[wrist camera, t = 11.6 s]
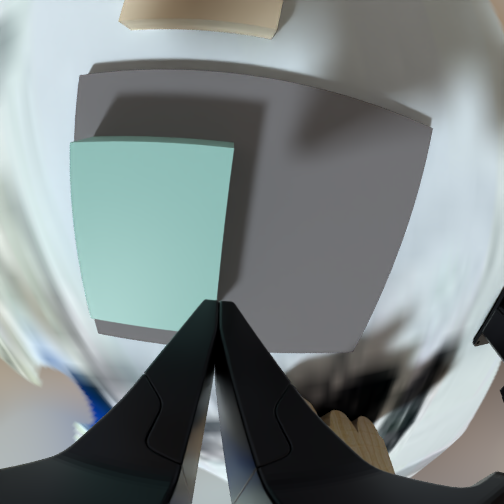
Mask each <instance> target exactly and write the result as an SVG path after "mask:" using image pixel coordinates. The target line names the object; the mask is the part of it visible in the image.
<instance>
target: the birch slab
mask: <svg viewBox="0 0 504 504" xmlns="http://www.w3.org/2000/svg"><path fill="white" fill-rule="evenodd" d="M282 4H283V0H125V1H124V4H123V7H122V11H121V14H120V18H119V22H120V23H122V24H123V25H124V26H126V27H127V28H129V29H130V30H146V29H187V30H205V31H217V32H227V33H235V34H242V35H249V36H255V37H261V38H266V39H272V38H273V36H274V34H275V32H276V31H277V28H278V23H279V18H280V13H281V9H282Z"/></svg>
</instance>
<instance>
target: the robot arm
mask: <svg viewBox="0 0 504 504" xmlns="http://www.w3.org/2000/svg"><path fill="white" fill-rule="evenodd" d="M488 343H490V345H491V346H492V347H493V349H494V350H495V351H496V353H497V354H498V355H499V357H500V358H501V359H502V361H503V362H504V290H503V291H502V293H501V295H500V297H499V299H498V301H497V303H496V304H495V306H494V308H493V310H492V311H491V313H490V315H489V317H488V318H487V320H486V322H485V323H484V325H483V327H482V328H481V330H480V331H479V333H478V334H477V336H476V338H475V339H474V341H473V345H474V346H480V345H484V344H488ZM214 367H215V386H216V395H217V404H218V412H219V421H220V429H221V436H222V444H223V451H224V458H225V465H226V472H227V478H228V484H229V490H230V496H231V502H232V504H504V473H502V472H494V473H492V474H490V475H489V476H487V477H486V478H484V479H483V480H481V481H479V482H477V483H476V484H474V485H473V486H471V487H465V488H457V487H449V486H443V485H437V484H433V483H428V482H423V481H419V480H415V479H411V478H407V477H403V476H399V475H396V474H392V473H389V472H386V471H383V470H380V469H378V468H376V467H374V466H372V465H371V464H369V463H368V462H366V461H365V460H364V459H362V458H361V457H360V456H359V455H358V454H357V453H356V452H355V451H353V450H352V449H351V448H350V447H349V446H348V445H347V444H346V443H345V442H344V441H343V440H342V439H341V438H340V437H339V436H338V435H337V434H336V433H335V432H334V431H332V430H331V429H330V428H329V427H328V426H327V425H326V424H325V423H324V422H323V420H322V419H321V418H320V417H319V416H318V415H317V414H316V413H315V412H314V411H313V410H312V409H311V407H310V406H309V405H308V404H307V403H306V401H305V400H304V399H303V398H302V396H301V395H300V394H299V393H298V391H297V390H296V388H295V387H294V386H293V385H292V384H291V382H290V381H289V379H288V378H287V376H286V375H285V374H284V372H283V371H282V370H281V368H280V367H279V366H278V364H277V363H276V361H275V360H274V359H273V357H272V356H271V354H270V353H269V352H268V350H267V349H266V347H265V346H264V345H263V343H262V342H261V340H260V339H259V338H258V336H257V335H256V333H255V332H254V330H253V329H252V328H251V326H250V325H249V323H248V322H247V320H246V319H245V317H244V316H243V315H242V313H241V312H240V310H239V309H238V307H237V306H236V304H235V303H234V302H232V301H220V302H218V301H217V300H209V299H205V300H203V301H202V303H201V304H200V305H199V306H198V307H197V309H196V310H195V311H194V312H193V313H192V315H191V316H190V317H189V318H188V320H187V321H186V322H185V323H184V324H183V326H182V327H181V328H180V329H179V331H178V332H177V333H176V334H175V335H174V337H173V338H172V339H171V340H170V342H169V343H168V344H167V345H166V346H165V348H164V349H163V350H162V351H161V353H160V354H159V355H158V356H157V358H156V359H155V360H154V361H153V362H152V364H151V365H150V366H149V367H148V369H147V370H146V371H145V372H144V374H143V375H142V376H141V377H140V378H139V379H138V381H137V382H136V383H135V384H134V386H133V387H132V388H131V389H130V390H129V391H128V392H127V394H126V395H125V396H124V397H123V398H122V399H121V400H120V401H119V402H118V403H117V404H116V405H115V406H114V407H113V408H112V409H111V410H110V411H109V412H108V413H107V414H106V415H105V416H104V417H102V418H101V419H100V420H99V421H98V422H97V423H96V424H95V425H94V426H93V427H92V428H90V429H89V430H88V431H87V432H86V433H85V434H84V435H83V436H82V437H81V438H79V439H78V440H77V441H76V442H75V443H74V444H73V445H72V446H70V447H69V448H67V449H66V450H64V451H63V452H61V453H59V454H57V455H55V456H52V457H49V458H46V459H42V460H38V461H35V462H31V463H26V464H22V465H18V466H13V467H8V468H3V469H0V504H192V498H193V493H194V486H195V480H196V474H197V468H198V462H199V456H200V451H201V445H202V439H203V433H204V427H205V422H206V416H207V411H208V405H209V399H210V394H211V388H212V383H213V376H214ZM290 384H291V385H290ZM500 392H501V395H502V399H503V402H504V386H503V387H502V388H501V390H500Z"/></svg>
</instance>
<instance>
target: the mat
mask: <svg viewBox="0 0 504 504" xmlns="http://www.w3.org/2000/svg"><path fill="white" fill-rule="evenodd" d="M432 130H433V128H431V127H428V126H426V125H424V124H422V123H420V122H417V121H415V120H413V119H410V118H408V117H405V116H403V115H400V114H398V113H395V112H393V111H390V110H387V109H385V108H382V107H379V106H376V105H373V104H370V103H367V102H364V101H361V100H358V99H355V98H352V97H348V96H345V95H341V94H338V93H334V92H331V91H327V90H323V89H319V88H315V87H311V86H306V85H302V84H297V83H292V82H287V81H282V80H277V79H271V78H265V77H259V76H252V75H244V74H236V73H227V72H216V71H202V70H178V69H149V70H126V71H113V72H102V73H93V74H86V75H80V77H79V84H78V93H77V103H76V115H75V134H74V141H78V140H82V139H86V138H89V137H93V136H152V137H175V138H191V139H203V140H214V141H224V142H233V143H234V153H233V160H232V168H231V175H230V183H229V191H228V199H227V207H226V216H225V224H224V233H223V242H222V252H221V261H220V271H219V281H218V291H217V301H218V302H220V301H232V302H234V303H235V304H236V306H237V307H238V309H239V310H240V312H241V313H242V315H243V316H244V317H245V319H246V320H247V322H248V323H249V325H250V326H251V328H252V329H253V330H254V332H255V333H256V335H257V336H258V338H259V339H260V340H261V342H262V343H263V345H264V346H265V347H266V349H267V350H268V352H269V353H338V352H353V351H354V349H355V347H356V345H357V344H358V342H359V340H360V338H361V336H362V334H363V332H364V330H365V328H366V326H367V324H368V322H369V319H370V317H371V315H372V313H373V311H374V309H375V307H376V304H377V302H378V300H379V298H380V295H381V293H382V291H383V289H384V286H385V284H386V281H387V279H388V277H389V274H390V272H391V269H392V267H393V264H394V262H395V259H396V256H397V254H398V251H399V248H400V246H401V243H402V240H403V237H404V234H405V231H406V228H407V225H408V222H409V219H410V216H411V213H412V210H413V207H414V203H415V200H416V196H417V193H418V189H419V186H420V182H421V178H422V175H423V171H424V167H425V162H426V158H427V154H428V149H429V145H430V140H431V135H432ZM95 323H96V327H97V331H98V333H99V334H104V335H109V336H114V337H120V338H126V339H132V340H138V341H145V342H152V343H159V344H168V343H169V342H170V340H171V339H172V338H173V337H174V335H175V334H176V333H177V332H178V331H172V330H164V329H156V328H148V327H141V326H135V325H128V324H122V323H116V322H110V321H104V320H99V319H95Z"/></svg>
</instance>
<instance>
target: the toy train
mask: <svg viewBox="0 0 504 504" xmlns="http://www.w3.org/2000/svg"><path fill="white" fill-rule="evenodd" d="M302 398H303V397H302ZM303 399H304V398H303ZM304 400H305V401H306V403H307V404H308V405H309V406H310V407H311V409H312V410H313V411H314V412H315V413H316V414H317V412H316V411H315V409H314V408H313V406H312V404H311V403H310V402H308V401H307V400H306V399H304ZM320 418H321V419H322V420H323V422H324V423H325V424H326V425H327V426H328V427H329V428H330V429H331V430H332V431H334V432H335V433H336V434H337V435H338V436H339V437H340V438H341V439H342V440H343V441H344V442H345V443H346V444H347V445H348V446H349V447H350V448H351V449H352V450H353V451H355V452H356V453H357V454H358V455H359V456H360V457H361V458H362V459H364V460H365V461H366V462H368V463H369V464H371V465H372V466H374V467H376V468H378V469H380V470H383V471H386V472H389V473H392V474H395V472H394V469H393V466H392V463H391V460H390V458H389V455H388V452H387V449H386V446H385V443H384V441H383V439H382V438H381V437H380V436H379V434H378V432H377V430H376V428H375V426H374V425H373V423H372V422H371V421H370V420H369V419H368V418H366V417H364V416H360V417H358V418H357V419H355V420H353V421H352V422H351V421H350V420H349V419H348V417H347V416H346V415H345V414H344V413H342V412H341V411H337V410H332V411H330V412H329V413H327V414H325V415H324V416H322V417H320Z"/></svg>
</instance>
